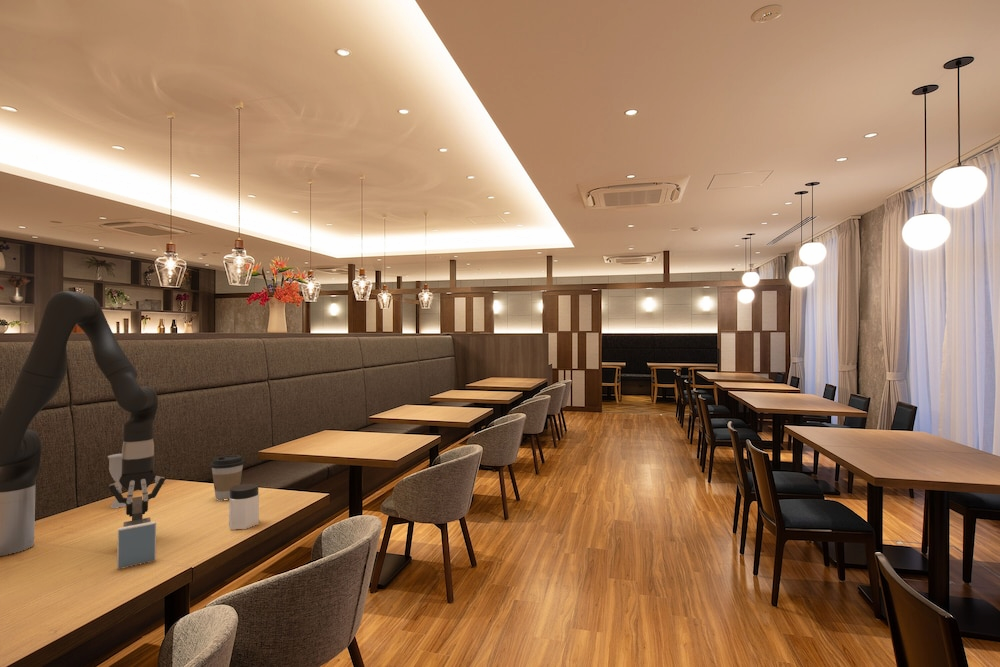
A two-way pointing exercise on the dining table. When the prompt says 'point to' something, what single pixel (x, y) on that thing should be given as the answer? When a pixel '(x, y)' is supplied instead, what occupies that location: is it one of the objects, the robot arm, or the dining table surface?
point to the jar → (243, 506)
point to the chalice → (116, 474)
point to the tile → (136, 544)
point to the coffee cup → (226, 474)
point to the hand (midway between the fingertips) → (137, 514)
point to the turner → (137, 513)
